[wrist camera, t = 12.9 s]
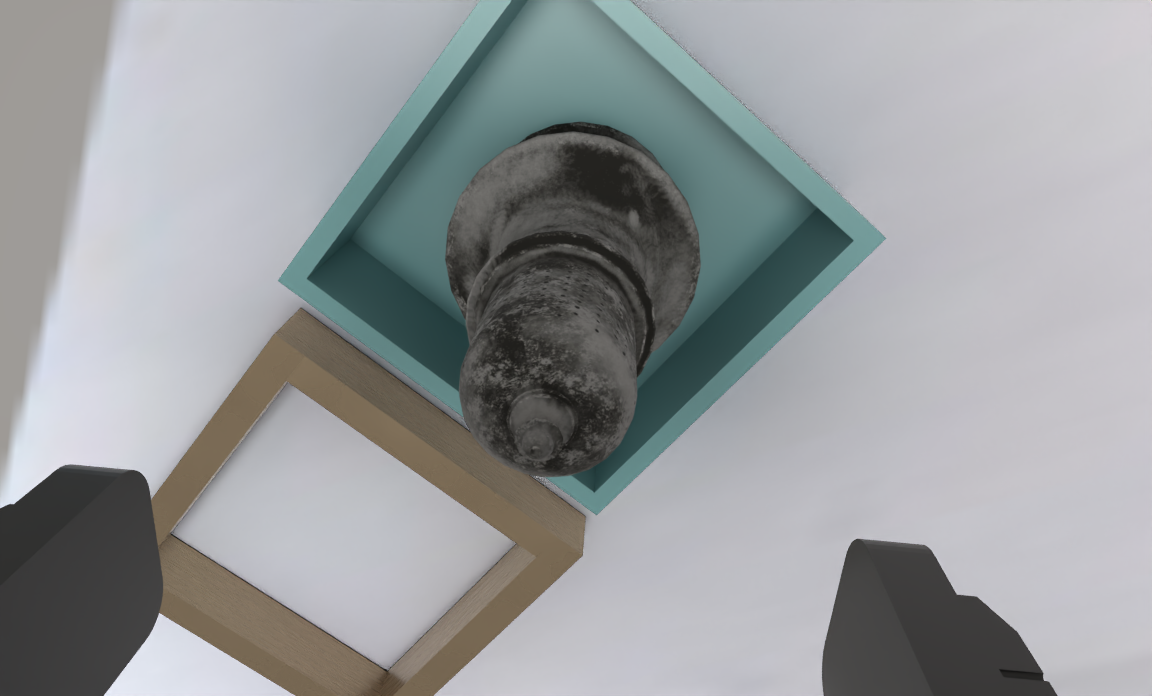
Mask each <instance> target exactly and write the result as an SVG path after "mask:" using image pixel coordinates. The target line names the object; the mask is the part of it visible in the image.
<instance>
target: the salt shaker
mask: <svg viewBox="0 0 1152 696" xmlns="http://www.w3.org/2000/svg"><path fill="white" fill-rule="evenodd" d="M445 262H446V267H447V272H448V277H449V283H450V288H451V292H452V294H453V296H454V298H455V300H456V302H457V304H458V306H459V308H460V310H461V312H462V314H463V316H464V319H465V320H466V328H467V334H468V339H469V344H470V346H469V348H468V351H467V353H466V356H465V358H464V361H463V363H462V366H461V371H460V382H459V397H460V402H461V407H462V412H463V417H464V420H465V422H466V424H467V426H468V428H469V430H470V432H471V434H472V436H473V437H474V439H475V440H476V441H477V442H478V443H479V444H480V445H481V447H482V448H483V449H484V450H485V451H486V452H487V453H488V454H489V455H491V456H492V457H493V458H495V459H496V460H498V461H499V462H500V463H502V464H503V465H505V466H507V467H509V468H512V469H514V470H517V471H519V472H522V473H524V474H528V475H535V476H541V477H561V476H570V475H573V474H576V473H580V472H583V471H586V470H589V469H591V468H592V467H594V466H595V465H597V464H599V463H600V462H602V461H603V460H605V459H607V457H608V456H609V455H610V454H611V453H612V452H613V451H614V450H615V449H616V448H617V447H618V446H619V445H620V443H621V441H622V440H623V438H624V436H625V434H626V432H627V430H628V428H629V426H630V424H631V422H632V419H633V417H634V412H635V406H636V401H637V377H638V376H639V375H640V374H641V373H642V371H643V369H644V367H645V365H646V363H647V361H648V359H649V357H650V355H651V353H652V352H654V351H655V350H657V349H658V348H659V347H660V346H661V345H662V344H663V343H664V342H665V341H666V340H667V339H668V337H669V336H670V335H671V334H672V333H673V332H674V331H675V330H676V329H677V328H678V327H679V325H680V324H681V322H682V320H683V318H684V316H685V314H686V312H687V310H688V308H689V306H690V305H691V303H692V301H693V299H694V296H695V291H696V286H697V282H698V277H699V273H700V268H701V261H700V245H699V233H698V230H697V227H696V224H695V221H694V219H693V216H692V213H691V210H690V207H689V204H688V201H687V200H686V199H685V197H684V196H683V194H682V193H681V191H680V190H679V189H678V187H677V186H676V184H675V183H674V181H673V180H672V179H671V177H670V176H669V174H668V173H667V172H666V171H665V170H664V169H663V168H662V166H661V165H660V163H659V162H658V160H657V159H656V158H655V156H654V155H653V153H651V152H650V151H649V150H648V149H646V148H645V147H644V146H643V145H642V144H640V143H639V142H638V141H637V140H636V139H634V138H633V137H632V136H630V135H627V134H625V133H623V132H621V131H618V130H616V129H614V128H612V127H610V126H607V125H600V124H594V123H587V122H573V123H564V124H555V125H552V126H550V127H547V128H545V129H542V130H540V131H537V132H535V133H532V134H530V135H529V136H527V137H526V138H525V139H523V140H522V141H521V142H520V143H518V144H516V145H513V146H511V147H508V148H506V149H505V150H504V151H502V152H501V153H500V154H498V155H497V156H496V157H495V158H493V159H492V160H491V161H489V162H488V163H487V164H486V165H484V166H483V167H482V168H480V169H479V171H478V172H477V173H476V175H475V176H474V177H473V179H472V180H471V181H470V183H469V184H468V185H467V187H466V188H465V189H464V191H463V192H462V194H461V195H460V196H459V198H458V201H457V204H456V206H455V209H454V212H453V214H452V217H451V220H450V222H449V225H448V230H447V242H446V254H445Z"/></svg>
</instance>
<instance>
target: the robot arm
mask: <svg viewBox="0 0 1152 696" xmlns="http://www.w3.org/2000/svg"><path fill="white" fill-rule="evenodd" d="M162 597H163V576H162V570H161V563H160V557H159V550H158V543H157V537H156V530H155V523H154V517H153V510H152V503H151V497H150V491H149V486H148V483H147V481H146V479H145V477H144V476H143V475H142V474H141V473H140V472H138V471H135V470H125V469H114V468H104V467H93V466H82V465H65V466H63V467H60V468H59V469H57V470H56V471H54V472H53V473H52V474H51V475H50V476H48V477H47V478H46V479H45V480H43V481H42V482H41V483H40V484H38V485H37V486H36V487H35V488H33V489H32V490H31V491H30V492H29V493H27V494H26V495H25V496H24V497H22V498H21V499H20V500H19V501H17V502H16V503H15V504H14V505H13V504H9V505H7V506H4V507H2V508H0V696H104V694H105V693H106V692H107V690H108V689H109V688H110V686H111V685H112V684H113V683H114V681H115V680H116V679H117V677H118V676H119V675H120V673H121V672H122V671H123V669H124V668H125V667H126V665H127V664H128V663H129V662H130V660H131V659H132V658H133V656H134V655H135V654H136V652H137V651H138V650H139V648H140V647H141V646H142V644H143V643H144V642H145V640H146V639H147V638H148V636H149V635H150V633H151V631H152V629H153V627H154V625H155V623H156V620H157V617H158V614H159V611H160V607H161V603H162ZM822 682H823V693H824V696H1057V694H1056V693H1055V691H1054V689H1053V688H1052V686H1051V685H1050V683H1049V682H1047V681H1044V680H1043V672H1042V670H1041V669H1040V667H1039V666H1038V664H1037V662H1036V661H1035V659H1034V658H1033V656H1032V654H1031V653H1030V651H1029V650H1028V648H1027V647H1026V645H1025V643H1024V642H1023V640H1022V639H1021V637H1020V635H1019V634H1018V632H1016V631H1015V630H1014V629H1013V628H1012V627H1011V626H1010V625H1008V624H1007V623H1006V622H1005V621H1004V620H1003V619H1002V618H1000V617H999V616H998V615H997V614H996V613H995V612H994V611H992V610H991V609H990V608H989V607H988V606H987V605H986V604H984V603H983V602H982V601H981V600H980V599H979V598H978V597H975V596H964V595H957V594H956V593H955V591H954V589H953V587H952V586H951V584H950V582H949V580H948V579H947V577H946V575H945V573H944V571H943V570H942V568H941V566H940V564H939V563H938V561H937V559H936V557H935V556H934V554H933V552H932V551H931V550H930V549H929V548H928V547H927V546H925V545H919V544H908V543H897V542H886V541H875V540H864V539H856V540H854V541H853V542H852V543H851V545H850V546H849V549H848V551H847V554H846V558H845V562H844V566H843V570H842V574H841V579H840V583H839V587H838V591H837V595H836V599H835V604H834V608H833V612H832V616H831V620H830V624H829V629H828V633H827V637H826V641H825V646H824V651H823V661H822Z"/></svg>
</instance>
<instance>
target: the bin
mask: <svg viewBox="0 0 1152 696" xmlns="http://www.w3.org/2000/svg"><path fill="white" fill-rule="evenodd" d="M573 122H587V123H594V124H600V125H607V126H610V127H612V128H614V129H616V130H618V131H621V132H623V133H625V134H627V135H630V136H632V137H633V138H634V139H636V140H637V141H638V142H639V143H640V144H642V145H643V146H644V147H645V148H646V149H648V150H649V151H650V152H651V153H653V155H654V156H655V158H656V159H657V160H658V162H659V163H660V165H661V166H662V168H663V169H664V170H665V171H666V172H667V173H668V174H669V176H670V177H671V179H672V180H673V181H674V183H675V184H676V186H677V187H678V189H679V190H680V191H681V193H682V194H683V196H684V197H685V199H686V200H687V201H688V204H689V207H690V210H691V213H692V216H693V219H694V221H695V224H696V227H697V230H698V233H699V245H700V261H701V268H700V273H699V277H698V282H697V286H696V291H695V296H694V299H693V301H692V303H691V305H690V306H689V308H688V310H687V312H686V314H685V316H684V318H683V320H682V322H681V324H680V325H679V327H678V328H677V329H676V330H675V331H674V332H673V333H672V334H671V335H670V336H669V337H668V339H667V340H666V341H665V342H664V343H663V344H662V345H661V346H660V347H659V348H658V349H657V350H655V351H654V352H652V353H651V355H650V357H649V359H648V361H647V363H646V365H645V367H644V369H643V371H642V373H641V374H640V375H639V376H638V377H637V401H636V406H635V412H634V417H633V419H632V422H631V424H630V426H629V428H628V430H627V432H626V434H625V436H624V438H623V440H622V441H621V443H620V445H619V446H618V447H617V448H616V449H615V450H614V451H613V452H612V453H611V454H610V455H609V456H608V457H607V459H605V460H603V461H602V462H600V463H599V464H597V465H595V466H594V467H592V468H591V469H589V470H586V471H583V472H580V473H576V474H573V475H570V476H561V477H545V478H547V479H548V480H549V481H551V482H552V483H553V484H555V485H556V486H558V487H559V488H560V489H562V490H563V491H564V492H566V493H567V494H568V495H570V496H571V497H572V498H574V499H575V500H577V501H578V502H579V503H581V504H582V505H583V506H585V507H586V508H587V509H589V510H590V511H592V512H593V513H594V514H596V515H597V514H598V513H599V512H600V511H602V510H603V509H604V508H605V507H606V506H607V505H608V504H609V503H610V502H611V501H612V500H613V499H614V498H615V497H616V496H617V495H618V494H619V493H620V492H621V491H622V490H624V489H625V488H626V487H627V486H628V485H629V484H630V483H631V482H632V481H633V480H634V479H635V478H636V477H637V476H638V475H639V474H640V473H641V472H642V471H643V470H644V469H645V468H647V467H648V466H649V465H650V464H651V463H652V462H653V461H654V460H655V459H656V458H657V457H658V456H659V455H660V454H661V453H662V452H663V451H664V450H665V449H666V448H667V447H669V446H670V445H671V444H672V443H673V442H674V441H675V440H676V439H677V438H678V437H679V436H680V435H681V434H682V433H683V432H684V431H685V430H686V429H687V428H688V427H689V426H691V425H692V424H693V423H694V422H695V421H696V420H697V419H698V418H699V417H700V416H701V415H702V414H703V413H704V412H705V411H706V410H707V409H708V408H709V407H710V406H711V405H712V404H714V403H715V402H716V401H717V400H718V399H719V398H720V397H721V396H722V395H723V394H724V393H725V392H726V391H727V390H728V389H729V388H730V387H731V386H732V385H733V384H734V383H736V382H737V381H738V380H739V379H740V378H741V377H742V376H743V375H744V374H745V373H746V372H747V371H748V370H749V369H750V368H751V367H752V366H753V365H754V364H755V363H756V362H757V361H759V360H760V359H761V358H762V357H763V356H764V355H765V354H766V353H767V352H768V351H769V350H770V349H771V348H772V347H773V346H774V345H775V344H776V343H777V342H778V341H779V340H781V339H782V338H783V337H784V336H785V335H786V334H787V333H788V332H789V331H790V330H791V329H792V328H793V327H794V326H795V325H796V324H797V323H798V322H799V321H800V320H801V319H803V318H804V317H805V316H806V315H807V314H808V313H809V312H810V311H811V310H812V309H813V308H814V307H815V306H816V305H817V304H818V303H819V302H820V301H821V300H822V299H823V298H824V297H826V296H827V295H828V294H829V293H830V292H831V291H832V290H833V289H834V288H835V287H836V286H837V285H838V284H839V283H840V282H841V281H842V280H843V279H844V278H845V277H846V276H848V275H849V274H850V273H851V272H852V271H853V270H854V269H855V268H856V267H857V266H858V265H859V264H860V263H861V262H862V261H863V260H864V259H865V258H866V257H867V256H868V255H869V254H871V253H872V252H873V251H874V250H875V249H876V248H877V247H878V246H879V245H880V244H881V243H882V242H883V241H884V240H885V239H886V238H885V237H884V236H883V235H882V234H881V233H880V232H879V231H878V230H877V229H876V228H875V227H874V226H873V225H872V224H871V223H870V222H868V221H867V220H866V219H865V218H864V217H863V216H862V215H861V214H860V213H859V212H858V211H857V210H856V209H855V208H854V207H853V206H852V205H851V204H849V203H848V202H847V201H846V200H845V199H844V198H843V197H842V196H841V195H840V194H839V193H838V192H837V191H836V190H835V189H833V188H832V187H831V186H830V185H829V184H828V183H827V182H826V181H825V180H824V179H823V178H822V177H821V176H819V175H818V174H817V173H816V172H815V171H814V170H813V169H812V168H811V167H810V166H809V165H808V164H807V163H805V162H804V161H803V160H802V159H801V158H800V157H799V156H798V155H797V154H796V153H795V152H794V151H793V150H791V149H790V148H789V147H788V146H787V145H786V144H785V143H784V142H783V141H782V140H781V139H780V138H778V137H777V136H776V135H775V134H774V133H773V132H772V131H771V130H770V129H769V128H768V127H767V126H766V125H764V124H763V123H762V122H761V121H760V120H759V119H758V118H757V117H756V116H755V115H754V114H753V113H752V112H750V111H749V110H748V109H747V108H746V107H745V106H744V105H743V104H742V103H741V102H740V101H739V100H738V99H736V98H735V97H734V96H733V95H732V94H731V93H730V92H729V91H728V90H727V89H726V88H725V87H724V86H722V85H721V84H720V83H719V82H718V81H717V80H716V79H715V78H714V77H713V76H712V75H711V74H710V73H708V72H707V71H706V70H705V69H704V68H703V67H702V66H701V65H700V64H699V63H698V62H697V61H695V60H694V59H693V58H692V57H691V56H690V55H689V54H688V53H687V52H686V51H685V50H684V49H683V48H681V47H680V46H679V45H678V44H677V43H676V42H675V41H674V40H673V39H672V38H671V37H670V36H669V35H667V34H666V33H665V32H664V31H663V30H662V29H661V28H660V27H659V26H658V25H657V24H656V23H655V22H653V21H652V20H651V19H650V18H649V17H648V16H647V15H646V14H645V13H644V12H643V11H642V10H641V9H639V8H638V7H637V6H636V5H635V4H634V3H633V2H632V1H631V0H480V1H479V2H478V4H477V5H476V7H475V8H474V9H473V11H472V12H471V14H470V15H469V16H468V18H467V19H466V21H465V22H464V23H463V25H462V26H461V27H460V29H459V30H458V32H457V33H456V34H455V36H454V37H453V39H452V40H451V41H450V43H449V44H448V45H447V47H446V48H445V50H444V51H443V52H442V54H441V55H440V57H439V58H438V59H437V61H436V62H435V63H434V65H433V66H432V68H431V69H430V70H429V72H428V73H427V75H426V76H425V77H424V79H423V80H422V82H421V83H420V84H419V86H418V87H417V88H416V90H415V91H414V93H413V94H412V95H411V97H410V98H409V100H408V101H407V102H406V104H405V105H404V106H403V108H402V109H401V111H400V112H399V113H398V115H397V116H396V118H395V119H394V120H393V122H392V123H391V124H390V126H389V127H388V129H387V130H386V131H385V133H384V134H383V136H382V137H381V138H380V140H379V141H378V143H377V144H376V145H375V147H374V148H373V149H372V151H371V152H370V154H369V155H368V156H367V158H366V159H365V161H364V162H363V163H362V165H361V166H360V167H359V169H358V170H357V172H356V173H355V174H354V176H353V177H352V179H351V180H350V181H349V183H348V184H347V186H346V187H345V188H344V190H343V191H342V192H341V194H340V195H339V197H338V198H337V199H336V201H335V202H334V204H333V205H332V206H331V208H330V209H329V210H328V212H327V213H326V215H325V216H324V217H323V219H322V220H321V222H320V223H319V224H318V226H317V227H316V228H315V230H314V231H313V233H312V234H311V235H310V237H309V238H308V240H307V241H306V242H305V244H304V245H303V247H302V248H301V249H300V251H299V252H298V253H297V255H296V256H295V258H294V259H293V260H292V262H291V263H290V265H289V266H288V267H287V269H286V270H285V271H284V273H283V274H282V276H281V277H280V278H279V280H278V281H279V282H280V283H282V284H283V285H284V286H286V287H287V288H288V289H290V290H291V291H292V292H294V293H295V294H297V295H298V296H299V297H301V298H302V299H303V300H305V301H306V302H307V303H309V304H310V305H312V306H313V307H314V308H316V309H317V310H318V311H320V312H321V313H322V314H324V315H325V316H326V317H328V318H329V319H331V320H332V321H333V322H335V323H336V324H337V325H339V326H340V327H341V328H343V329H344V330H346V331H347V332H348V333H350V334H351V335H352V336H354V337H355V338H356V339H358V340H359V341H360V342H362V343H363V344H365V345H366V346H367V347H369V348H370V349H371V350H373V351H374V352H375V353H377V354H378V355H379V356H381V357H382V358H384V359H385V360H386V361H388V362H389V363H390V364H392V365H393V366H394V367H396V368H397V369H399V370H400V371H401V372H403V373H404V374H405V375H407V376H408V377H409V378H411V379H412V380H413V381H415V382H416V383H418V384H419V385H420V386H422V387H423V388H424V389H426V390H427V391H428V392H430V393H431V394H432V395H434V396H435V397H437V398H438V399H439V400H441V401H442V402H443V403H445V404H446V405H447V406H449V407H450V408H452V409H453V410H454V411H456V412H457V413H458V414H460V415H461V416H462V417H463V412H462V407H461V402H460V397H459V382H460V371H461V366H462V363H463V361H464V358H465V356H466V353H467V351H468V348H469V346H470V344H469V339H468V334H467V328H466V320H465V319H464V316H463V314H462V312H461V310H460V308H459V306H458V304H457V302H456V300H455V298H454V296H453V294H452V292H451V288H450V283H449V277H448V272H447V267H446V262H445V254H446V242H447V230H448V225H449V222H450V220H451V217H452V214H453V212H454V209H455V206H456V204H457V201H458V198H459V196H460V195H461V194H462V192H463V191H464V189H465V188H466V187H467V185H468V184H469V183H470V181H471V180H472V179H473V177H474V176H475V175H476V173H477V172H478V171H479V169H480V168H482V167H483V166H484V165H486V164H487V163H488V162H489V161H491V160H492V159H493V158H495V157H496V156H497V155H498V154H500V153H501V152H502V151H504V150H505V149H506V148H508V147H511V146H513V145H516V144H518V143H520V142H521V141H522V140H523V139H525V138H526V137H527V136H529V135H530V134H532V133H535V132H537V131H540V130H542V129H545V128H547V127H550V126H552V125H555V124H564V123H573Z"/></svg>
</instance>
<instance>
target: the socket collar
mask: <svg viewBox="0 0 1152 696" xmlns="http://www.w3.org/2000/svg"><path fill="white" fill-rule="evenodd" d="M287 382H289V383H290V384H292V385H293V386H294V387H296V388H297V389H299V390H300V391H301V392H303V393H304V394H306V395H307V396H309V397H310V398H311V399H313V400H314V401H316V402H317V403H318V404H320V405H321V406H323V407H324V408H326V409H327V410H328V411H330V412H331V413H333V414H334V415H335V416H337V417H338V418H340V419H341V420H343V421H344V422H345V423H347V424H348V425H350V426H351V427H352V428H354V429H355V430H357V431H358V432H360V433H361V434H362V435H364V436H365V437H367V438H368V439H369V440H371V441H372V442H374V443H375V444H377V445H378V446H379V447H381V448H382V449H384V450H385V451H386V452H388V453H389V454H391V455H392V456H394V457H395V458H396V459H398V460H399V461H401V462H402V463H403V464H405V465H406V466H408V467H409V468H411V469H412V470H413V471H415V472H416V473H418V474H419V475H420V476H422V477H423V478H425V479H426V480H428V481H429V482H430V483H432V484H433V485H435V486H436V487H437V488H439V489H440V490H442V491H443V492H445V493H446V494H447V495H449V496H450V497H452V498H453V499H454V500H456V501H457V502H459V503H460V504H462V505H463V506H464V507H466V508H467V509H469V510H470V511H471V512H473V513H474V514H476V515H477V516H479V517H480V518H481V519H483V520H484V521H486V522H487V523H488V524H490V525H491V526H493V527H494V528H496V529H497V530H498V531H500V532H501V533H503V534H504V535H505V536H507V537H508V538H510V539H511V540H513V541H514V542H515V543H517V544H516V545H515V546H514V547H513V548H512V549H511V550H510V551H509V552H508V553H507V554H506V555H505V556H504V557H503V558H502V559H501V560H500V561H499V562H498V563H497V564H496V565H495V566H494V567H493V568H492V569H491V570H490V571H489V572H488V573H487V574H486V575H485V576H484V577H482V578H481V579H480V580H479V581H478V582H477V583H476V584H475V585H474V586H473V587H472V588H471V589H470V590H469V591H468V592H467V593H466V594H465V595H464V596H463V597H462V598H461V599H460V600H459V601H458V602H457V603H456V604H455V605H454V606H453V607H452V608H451V609H450V610H449V611H448V612H447V613H446V614H445V615H444V616H443V617H442V618H441V619H440V620H439V621H438V622H437V623H436V624H435V625H434V626H433V627H432V628H431V629H430V630H429V631H428V632H427V633H426V634H425V635H424V636H423V637H422V638H421V639H420V640H419V641H418V642H417V643H416V644H415V645H414V646H413V647H412V648H411V649H410V650H409V651H408V652H407V653H406V654H405V655H404V656H402V657H401V658H400V659H399V660H398V661H397V662H396V663H395V664H394V665H393V666H392V667H391V668H390V669H389V670H388V671H385V670H383V669H382V668H380V667H379V666H377V665H376V664H374V663H372V662H371V661H369V660H368V659H366V658H365V657H363V656H361V655H360V654H358V653H357V652H355V651H354V650H352V649H350V648H349V647H347V646H346V645H344V644H342V643H341V642H339V641H338V640H336V639H335V638H333V637H331V636H330V635H328V634H327V633H325V632H324V631H322V630H320V629H319V628H317V627H316V626H314V625H313V624H311V623H309V622H308V621H306V620H305V619H303V618H301V617H300V616H298V615H297V614H295V613H294V612H292V611H290V610H289V609H287V608H286V607H284V606H283V605H281V604H279V603H278V602H276V601H275V600H273V599H272V598H270V597H268V596H267V595H265V594H264V593H262V592H260V591H259V590H257V589H256V588H254V587H253V586H251V585H249V584H248V583H246V582H245V581H243V580H242V579H240V578H238V577H237V576H235V575H234V574H232V573H231V572H229V571H227V570H226V569H224V568H223V567H221V566H219V565H218V564H216V563H215V562H213V561H212V560H210V559H208V558H207V557H205V556H204V555H202V554H201V553H199V552H197V551H196V550H194V549H193V548H191V547H190V546H188V545H186V544H185V543H183V542H182V541H180V540H178V539H177V538H175V537H174V536H172V535H171V533H172V531H173V530H174V529H175V528H176V526H177V525H178V524H179V522H180V521H181V520H182V518H183V517H184V516H185V515H186V513H187V512H188V511H189V509H190V508H191V507H192V506H193V504H194V503H195V502H196V500H197V499H198V498H199V496H200V495H201V494H202V493H203V491H204V490H205V489H206V487H207V486H208V485H209V483H210V482H211V481H212V480H213V478H214V477H215V476H216V474H217V473H218V472H219V471H220V469H221V468H222V467H223V465H224V464H225V463H226V461H227V460H228V459H229V458H230V456H231V455H232V454H233V452H234V451H235V450H236V449H237V447H238V446H239V445H240V443H241V442H242V441H243V439H244V438H245V437H246V436H247V434H248V433H249V432H250V430H251V429H252V428H253V426H254V425H255V424H256V423H257V421H258V420H259V419H260V417H261V416H262V415H263V414H264V412H265V411H266V410H267V408H268V407H269V406H270V404H271V403H272V402H273V401H274V399H275V398H276V397H277V395H278V394H279V393H280V392H281V390H282V389H283V388H284V386H285V385H286V384H287ZM151 503H152V510H153V517H154V523H155V530H156V537H157V543H158V550H159V557H160V563H161V570H162V576H163V597H162V603H161V607H160V611H159V613H160V614H162V615H164V616H165V617H167V618H169V619H170V620H172V621H174V622H175V623H177V624H179V625H180V626H182V627H183V628H185V629H187V630H188V631H190V632H192V633H193V634H195V635H197V636H198V637H200V638H202V639H203V640H205V641H207V642H208V643H210V644H211V645H213V646H215V647H216V648H218V649H220V650H221V651H223V652H225V653H226V654H228V655H230V656H231V657H233V658H234V659H236V660H238V661H239V662H241V663H243V664H244V665H246V666H248V667H249V668H251V669H253V670H254V671H256V672H257V673H259V674H261V675H262V676H264V677H266V678H267V679H269V680H271V681H272V682H274V683H276V684H277V685H279V686H281V687H282V688H284V689H285V690H287V691H289V692H290V693H292V694H294V695H295V696H433V695H434V694H436V693H437V692H438V691H439V690H440V689H441V688H442V687H443V686H444V685H445V684H446V683H447V682H448V681H449V680H450V679H452V678H453V677H454V676H455V675H456V674H457V673H458V672H459V671H460V670H461V669H462V668H463V667H464V666H465V665H466V664H468V663H469V662H470V661H471V660H472V659H473V658H474V657H475V656H476V655H477V654H478V653H479V652H480V651H481V650H482V649H484V648H485V647H486V646H487V645H488V644H489V643H490V642H491V641H492V640H493V639H494V638H495V637H496V636H497V635H498V634H500V633H501V632H502V631H503V630H504V629H505V628H506V627H507V626H508V625H509V624H510V623H511V622H512V621H513V620H514V619H516V618H517V617H518V616H519V615H520V614H521V613H522V612H523V611H524V610H525V609H526V608H527V607H528V606H529V605H530V604H532V603H533V602H534V601H535V600H536V599H537V598H538V597H539V596H540V595H541V594H542V593H543V592H544V591H545V590H546V589H548V588H549V587H550V586H551V585H552V584H553V583H554V582H555V581H556V580H557V579H558V578H559V577H560V576H561V575H562V574H563V573H565V572H566V571H567V570H568V569H569V568H570V567H571V566H572V565H573V564H574V563H575V562H576V561H577V560H578V559H579V558H581V557H582V556H583V544H584V531H585V516H584V515H583V514H581V513H580V512H579V511H577V510H576V509H575V508H573V507H572V506H570V505H569V504H568V503H566V502H565V501H564V500H562V499H561V498H560V497H558V496H557V495H555V494H554V493H553V492H551V491H550V490H549V489H547V488H546V487H545V486H543V485H542V484H540V483H539V482H538V481H536V480H535V479H534V478H532V477H531V476H530V475H528V474H524V473H522V472H519V471H517V470H514V469H512V468H509V467H507V466H505V465H503V464H502V463H500V462H499V461H498V460H496V459H495V458H493V457H492V456H491V455H489V454H488V453H487V452H486V451H485V450H484V449H483V448H482V447H481V445H480V444H479V443H478V442H477V441H476V440H475V439H474V437H473V436H472V434H471V432H469V431H468V430H467V429H465V428H464V427H463V426H461V425H460V424H459V423H457V422H456V421H454V420H453V419H452V418H450V417H449V416H448V415H446V414H445V413H443V412H442V411H441V410H439V409H438V408H437V407H435V406H434V405H433V404H431V403H430V402H428V401H427V400H426V399H424V398H423V397H422V396H420V395H419V394H418V393H416V392H415V391H413V390H412V389H411V388H409V387H408V386H407V385H405V384H404V383H403V382H401V381H400V380H398V379H397V378H396V377H394V376H393V375H392V374H390V373H389V372H388V371H386V370H385V369H383V368H382V367H381V366H379V365H378V364H377V363H375V362H374V361H373V360H371V359H370V358H368V357H367V356H366V355H364V354H363V353H362V352H360V351H359V350H357V349H356V348H355V347H353V346H352V345H351V344H349V343H348V342H347V341H345V340H344V339H342V338H341V337H340V336H338V335H337V334H336V333H334V332H333V331H332V330H330V329H329V328H327V327H326V326H325V325H323V324H322V323H321V322H319V321H318V320H317V319H315V318H314V317H312V316H311V315H310V314H308V313H307V312H306V311H304V310H303V309H302V308H300V309H299V310H298V311H297V312H296V313H295V314H294V315H293V316H292V317H291V318H290V319H289V320H288V321H287V322H286V323H285V324H284V325H283V326H282V327H281V328H280V329H279V330H278V331H277V332H276V333H275V334H274V335H273V337H272V338H271V339H270V341H269V342H268V343H267V345H266V346H265V347H264V349H263V350H262V351H261V353H260V354H259V355H258V357H257V358H256V359H255V361H254V362H253V363H252V365H251V366H250V368H249V369H248V370H247V372H246V373H245V374H244V376H243V377H242V378H241V380H240V381H239V382H238V384H237V385H236V386H235V388H234V389H233V390H232V392H231V393H230V394H229V396H228V397H227V399H226V400H225V401H224V403H223V404H222V405H221V407H220V408H219V409H218V411H217V412H216V413H215V415H214V416H213V417H212V419H211V420H210V421H209V423H208V424H207V425H206V427H205V428H204V430H203V431H202V432H201V434H200V435H199V436H198V438H197V439H196V440H195V442H194V443H193V444H192V446H191V447H190V448H189V450H188V451H187V452H186V454H185V455H184V456H183V458H182V459H181V461H180V462H179V463H178V465H177V466H176V467H175V469H174V470H173V471H172V473H171V474H170V475H169V477H168V478H167V479H166V481H165V482H164V483H163V485H162V486H161V487H160V489H159V490H158V491H157V493H156V494H155V496H154V497H153V498H152V500H151Z"/></svg>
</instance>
